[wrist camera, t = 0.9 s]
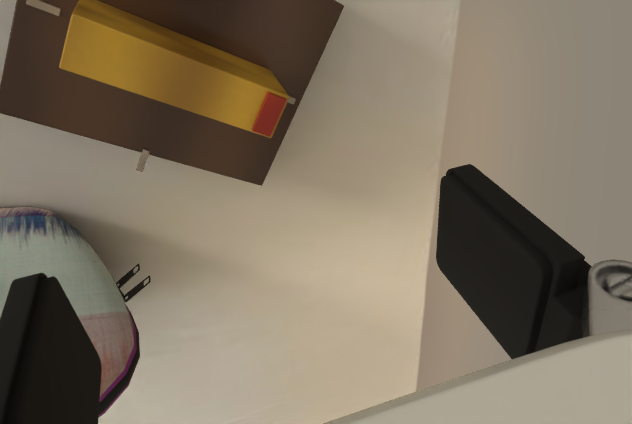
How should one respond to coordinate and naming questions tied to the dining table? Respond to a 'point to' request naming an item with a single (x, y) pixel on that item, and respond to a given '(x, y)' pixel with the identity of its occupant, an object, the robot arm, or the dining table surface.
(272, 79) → the yellow block
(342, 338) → the dining table surface
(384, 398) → the dining table surface
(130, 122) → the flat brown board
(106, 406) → the handbag
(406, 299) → the dining table surface
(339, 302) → the dining table surface
